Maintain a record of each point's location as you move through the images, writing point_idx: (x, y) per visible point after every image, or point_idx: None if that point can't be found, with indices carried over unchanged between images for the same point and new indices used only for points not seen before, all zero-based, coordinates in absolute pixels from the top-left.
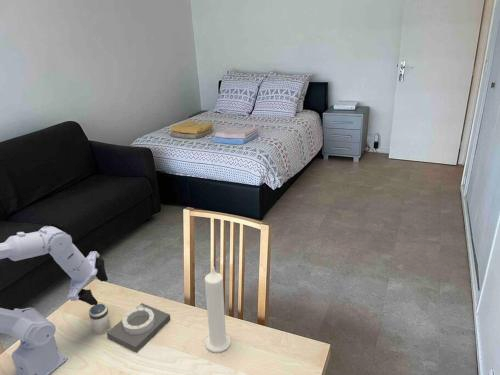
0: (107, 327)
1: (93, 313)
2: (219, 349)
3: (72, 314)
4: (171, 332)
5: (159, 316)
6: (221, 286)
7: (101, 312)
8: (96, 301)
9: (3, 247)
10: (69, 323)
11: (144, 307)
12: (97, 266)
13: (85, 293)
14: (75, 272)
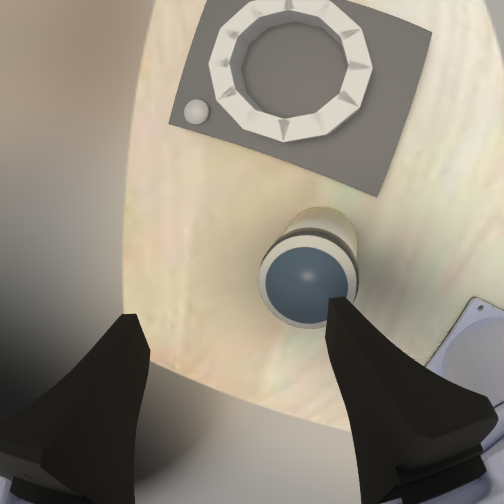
0: (331, 213)
1: (345, 295)
2: None
3: (264, 371)
4: None
5: (234, 7)
6: None
7: (331, 255)
8: (344, 309)
9: None
10: (307, 365)
11: (191, 97)
12: (72, 475)
13: (456, 444)
14: None
